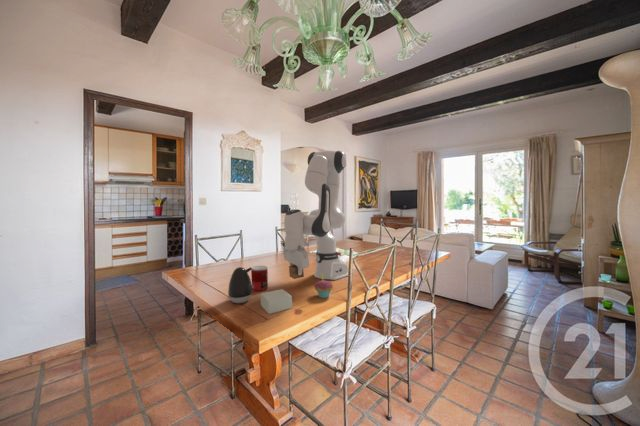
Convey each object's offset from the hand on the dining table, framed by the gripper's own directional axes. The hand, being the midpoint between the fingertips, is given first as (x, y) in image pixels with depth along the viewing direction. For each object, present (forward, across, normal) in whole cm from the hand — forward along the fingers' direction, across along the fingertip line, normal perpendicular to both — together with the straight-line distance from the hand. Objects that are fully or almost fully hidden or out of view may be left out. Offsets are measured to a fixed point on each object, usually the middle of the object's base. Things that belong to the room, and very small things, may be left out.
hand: (296, 273), depth 120 cm
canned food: (+10, +15, +14) cm, 23 cm away
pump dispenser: (+9, +5, +26) cm, 28 cm away
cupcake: (+10, -10, -9) cm, 17 cm away
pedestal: (+9, -9, +14) cm, 19 cm away
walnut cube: (+2, 0, 0) cm, 2 cm away
